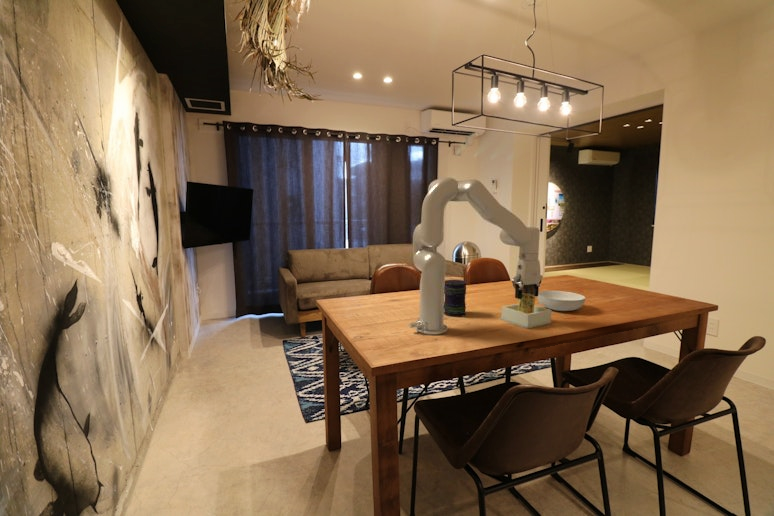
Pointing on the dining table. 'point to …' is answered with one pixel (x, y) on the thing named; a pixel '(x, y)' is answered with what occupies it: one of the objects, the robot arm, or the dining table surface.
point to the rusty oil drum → (454, 298)
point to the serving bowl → (560, 300)
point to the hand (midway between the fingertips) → (526, 297)
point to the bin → (526, 316)
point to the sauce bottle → (527, 299)
